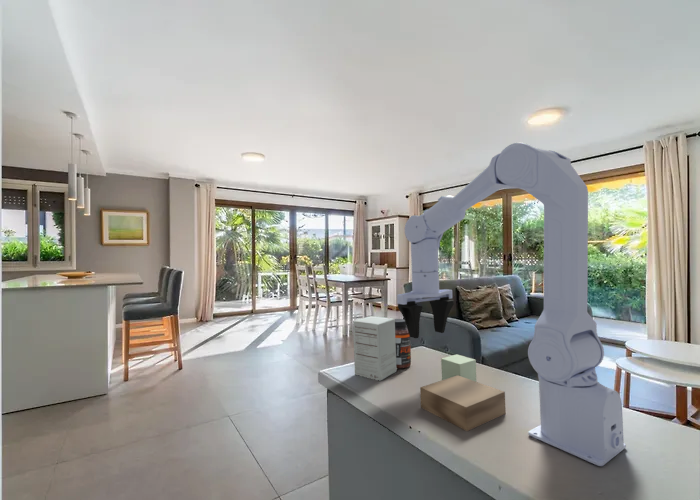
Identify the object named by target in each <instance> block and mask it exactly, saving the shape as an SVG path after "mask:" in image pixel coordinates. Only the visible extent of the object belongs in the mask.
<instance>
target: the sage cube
mask: <svg viewBox="0 0 700 500" xmlns="http://www.w3.org/2000/svg"><path fill="white" fill-rule="evenodd" d="M440 360H441V361H440V362H441V381H442V380H445V379H448V378H451V377H454V376H457V375H458V376H461V377H464V378H467V379H470V380H472V381H475V382H478V381H477V363H476V362H477V360H476V359H474V358H472V357H467V356H464V355H460V354H453V355H448V356H445V357H442V358H441V359H440Z"/></svg>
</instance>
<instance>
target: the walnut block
mask: <svg viewBox="0 0 700 500" xmlns="http://www.w3.org/2000/svg"><path fill="white" fill-rule="evenodd" d="M419 389H420V393H419V394H420V395H419V396H420V408H421V409H423V410H425V411H427V412H429V413H430V414H432V415H434V416H436V417H438V418H440V419H442V420H444V421H446V422H448V423H450V424H452V425H454V426H455V427H458V428H460V429H462V430H463V431H465V432H469V431H471V430H473V429H475V428H477V427H479V426H482V425H484V424H486V423H488V422H490V421H493V420H495V419H497V418H499V417H501V416H503V415H506V414H507V413H506V411H507V410H506V391H504V390H501V389H498V388H496V387H492V386H489V385H487V384H483V383H481V382H478V381H477V382H475V381H472V380H470V379H467V378H464V377H461V376H458V375H457V376H454V377H451V378H448V379H445V380H442V379H441V380H440V381H436V382H433V383H429V384H426V385H424V386H423V385H422V386H420V388H419Z"/></svg>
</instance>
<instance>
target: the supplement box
mask: <svg viewBox="0 0 700 500" xmlns="http://www.w3.org/2000/svg"><path fill="white" fill-rule="evenodd" d="M395 319H396V318H391V317H383V316H373V315H371V316H366V317H362V318H360V319H355V320H353V321H352V332H353V334H352V335H353V358H354V361H353V362H354V363H353V364H354V375H356V376H358V375H360V376H359V377H362V376H364V377H363V378H366V377H367V379H370V378H372V379H371V380H374V379H376V380H375V381H378V380H379V381H380V382H382V381H383V380H385V379H386V378H388V377H389V376H391V375H393V374H394V373H396V372H397V368H396V342H395Z"/></svg>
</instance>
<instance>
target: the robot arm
mask: <svg viewBox="0 0 700 500" xmlns="http://www.w3.org/2000/svg"><path fill="white" fill-rule="evenodd" d="M503 189H504V190H505V189H507V190H508V189H509V190H511V189H519V190H522V191H524V192H527V193H528V194H529V195H531V196H532V197H533V198H535V199H536V200H538V201H539V202H540V203H541V204H543V309H542V311H541V314H540V316H539V317H538V319H537V320H536V322H535V324H534V331H533V333H534V335H533V337H532V340H531V342H530V343H529V346H528V347H527V348H528V349H527V356H528V360H529V363H530V365H531V366H532V368H533V369H534V371H535V372H536V373H537V378H538V392H539V417H540V418H539V419H540V424H539V425H537V426H536V427H534V428H531V429H530V430H528V431H527V434H528V435H529V436H530V437H532V438H534V439H537V440H539V441H542V442H543V443H546V444H548V445H550V446H552V447H555V448H557V449H559V450H561V451H564V452H566V453H568V454H571V455H573V456H575V457H577V458H579V459H581V460H585V461H586V462H589V463H591V464H594V465H596V466H598V467H603V466H604V465H606V464H607V463H608V462H610V461H611V460H612V459H613V458H614V457H616V456H617V455H618V454H620V452H622V451H623V450H625V449H626V448H627V444H626V443H625V441H624V424H623V423H624V422H623V421H624V419H623V405H622V399H621V396H620V394H619V392H618V391H617V390H615V389H612V388H609V387H607V386H605V385H603V384H602V383H600V382H599V381H598V374H597V373H596V368H597V367H598V366H599V365H601V363H602V362H603V360H604V356H605V351H604V350H605V349H604V346H603V343H602V341H601V340H600V337H599V335H598V331H597V322H596V321H595V320H594V318H593V317H592V316H591V315H590V314H589V312H588V287H589V286H588V280H589V279H588V277H589V275H588V274H589V272H588V267H589V265H588V263H589V262H588V260H589V259H588V257H589V255H588V254H589V253H588V250H589V191H588V187H587V184H586V183H585V182H584V181H583V179H582V178H581V176H580V174H579V173H578V172H577V171H576V170H575V168H574V166H573V165H572V161H571V158H569V157H567V156H565V155H563V154H561V153H559V152H557V151H555V150H547V149H543V148H540V147H536V146H533V145H531V144H528V143H524V142H520V141H519V142H514V143H510V144H509V145H507V146H505V147H504V148H503V149H502V151H501V152H500V153H498V154H496V155H494V156H493V157H492V158H491V160H490V162H489V165H488V166H487V167H485V169H483V171H481V173H479V174H477V176H476V177H475V178H474V179H472V180H471V181H470V182H468V184H466V186H465V187H463V188H462V189H461V190H460V191H459V192H458V193H456V195H454V196H453V195H449V194H448V195H443V196H442V195H441V196H440V197H439V198H437V202H436V203H435V204H434V205H432V206H431V207H430V208H428V209H425V210H424V211H423V213H422V214H420V215H417V214H416V215H415V214H414V215H411V216H410V217H409V218H408V219H407V221H406V222H405V224H404V225H405V226H404V235H405V238H406V240H407V241H408V242H410V257H411V259H410V260H411V261H410V263H411V287H412V289H411V291H409V292H405V293H399V294H396V302H397V308H398V310H399V311H400V314H401V315H402V317H403V319H404V320H405V322H406V327H407V328H408V332H409V336H410V338H413V339H419V337H420V319H421V314H422V311H423V306H422V305H418V303H420V302H421V303H422V302H429V304H430V307H431V310H432V316H433V327H434V331H435V332H436V333H441V334H443V333H445V330H446V325H447V320H448V317H449V315H450V313H451V310H452V308H453V306H454V305H455V301H454V299H453V290H452V289H447V288H444V289H440V272H439V270H440V269H439V249H440V246H441V243H440V242H441V240H442V238H443V235H444V233H445V232H447V231H448V230H449V229H451V228H452V227H454V226H456V225H457V224H459V223H460V222H461V221H463V220H464V219H465V217H466V211H467V210H469V209H470V208H471V207H474V206H475V205H476V204H478V203H480V202H481V201H483V200H485V199H486V198H488V197H490V196H491V195H493V194H495V193H496V192H498V191H499V190H503Z"/></svg>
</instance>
